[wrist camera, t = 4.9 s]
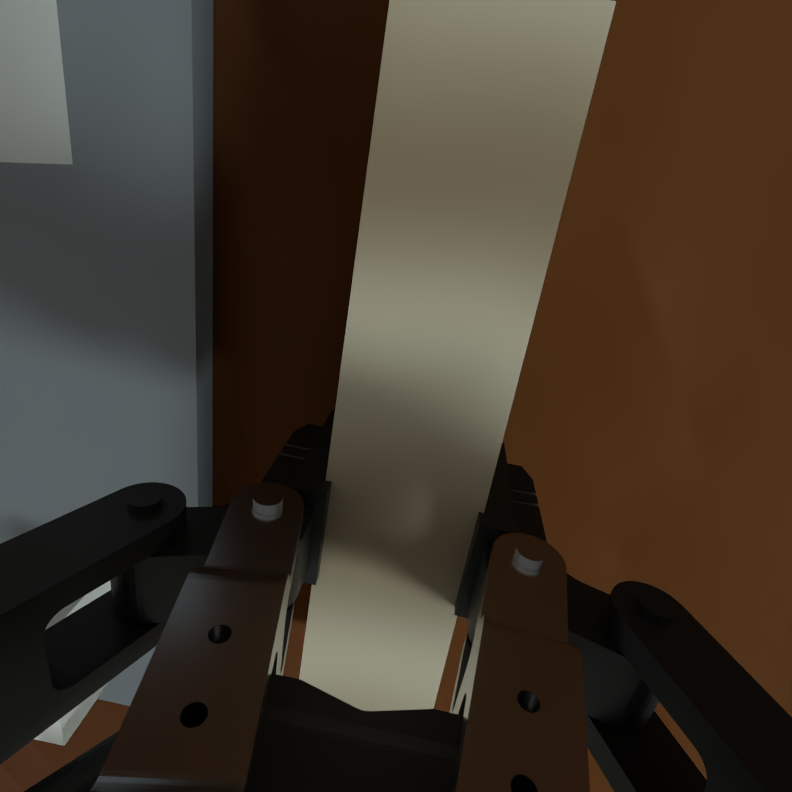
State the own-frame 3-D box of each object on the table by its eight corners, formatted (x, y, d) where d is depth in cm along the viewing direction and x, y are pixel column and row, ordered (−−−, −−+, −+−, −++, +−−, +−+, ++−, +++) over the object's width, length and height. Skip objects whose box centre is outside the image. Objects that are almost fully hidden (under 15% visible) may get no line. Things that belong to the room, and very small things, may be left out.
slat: (416, 57, 11) (393, -32, 7) (559, 80, 11) (616, 2, 7) (319, 690, 17) (279, 826, 13) (409, 710, 17) (395, 854, 13)
